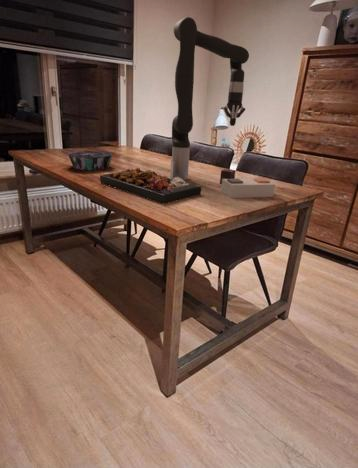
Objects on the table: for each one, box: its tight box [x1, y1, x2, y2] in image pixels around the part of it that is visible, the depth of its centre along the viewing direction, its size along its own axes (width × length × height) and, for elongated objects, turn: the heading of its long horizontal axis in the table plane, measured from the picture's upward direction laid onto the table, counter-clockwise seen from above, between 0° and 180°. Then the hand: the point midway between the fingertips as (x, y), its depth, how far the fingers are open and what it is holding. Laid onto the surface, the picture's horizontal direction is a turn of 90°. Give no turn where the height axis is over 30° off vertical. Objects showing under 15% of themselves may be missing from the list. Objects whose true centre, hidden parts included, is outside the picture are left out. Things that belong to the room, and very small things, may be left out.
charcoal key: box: [227, 178, 243, 184], centre depth 154 cm, size 6×6×4 cm
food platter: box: [99, 167, 202, 204], centre depth 156 cm, size 45×25×10 cm, turn 47°
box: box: [219, 168, 236, 185], centre depth 174 cm, size 6×6×7 cm
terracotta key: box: [253, 177, 271, 183], centre depth 158 cm, size 6×6×4 cm
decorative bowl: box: [67, 150, 114, 172], centre depth 195 cm, size 26×28×10 cm
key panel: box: [220, 178, 276, 199], centre depth 157 cm, size 22×12×6 cm, turn 105°
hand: (232, 125), depth 179 cm, fingers closed
